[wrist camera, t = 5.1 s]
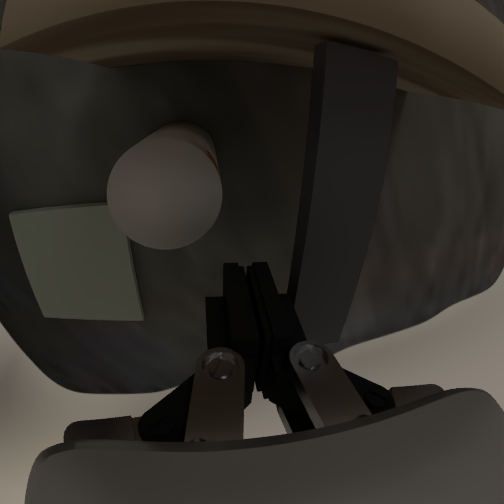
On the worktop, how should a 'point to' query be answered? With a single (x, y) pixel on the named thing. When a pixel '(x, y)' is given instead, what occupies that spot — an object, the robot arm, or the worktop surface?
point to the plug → (167, 187)
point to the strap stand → (275, 36)
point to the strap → (340, 182)
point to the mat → (78, 262)
